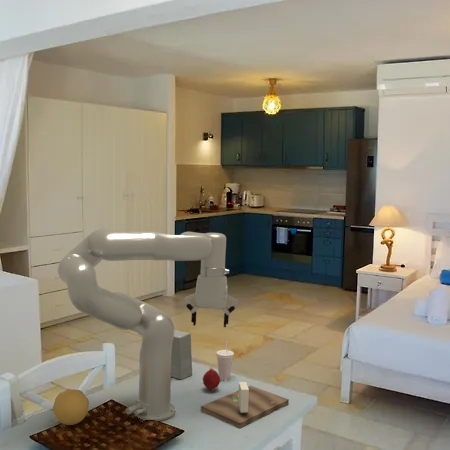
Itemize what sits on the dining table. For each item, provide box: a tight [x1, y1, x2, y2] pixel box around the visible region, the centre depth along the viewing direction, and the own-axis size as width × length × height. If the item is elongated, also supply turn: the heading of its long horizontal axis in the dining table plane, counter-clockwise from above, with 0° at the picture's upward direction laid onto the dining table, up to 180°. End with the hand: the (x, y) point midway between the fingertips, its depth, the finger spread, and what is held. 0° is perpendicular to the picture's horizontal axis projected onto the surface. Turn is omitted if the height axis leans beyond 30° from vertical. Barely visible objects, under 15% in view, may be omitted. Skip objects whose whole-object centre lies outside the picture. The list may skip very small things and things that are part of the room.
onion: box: [202, 367, 221, 391], centre depth 186 cm, size 6×6×8 cm
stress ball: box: [52, 388, 90, 426], centre depth 158 cm, size 10×10×10 cm
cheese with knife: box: [238, 381, 249, 414], centre depth 169 cm, size 14×3×8 cm, turn 5°
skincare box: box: [171, 329, 193, 380], centre depth 198 cm, size 8×7×16 cm
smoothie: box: [215, 340, 235, 381], centre depth 196 cm, size 6×6×14 cm
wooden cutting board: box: [200, 385, 290, 429], centre depth 173 cm, size 24×16×2 cm, turn 138°
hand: (209, 325), depth 174 cm, fingers open, 9 cm apart
